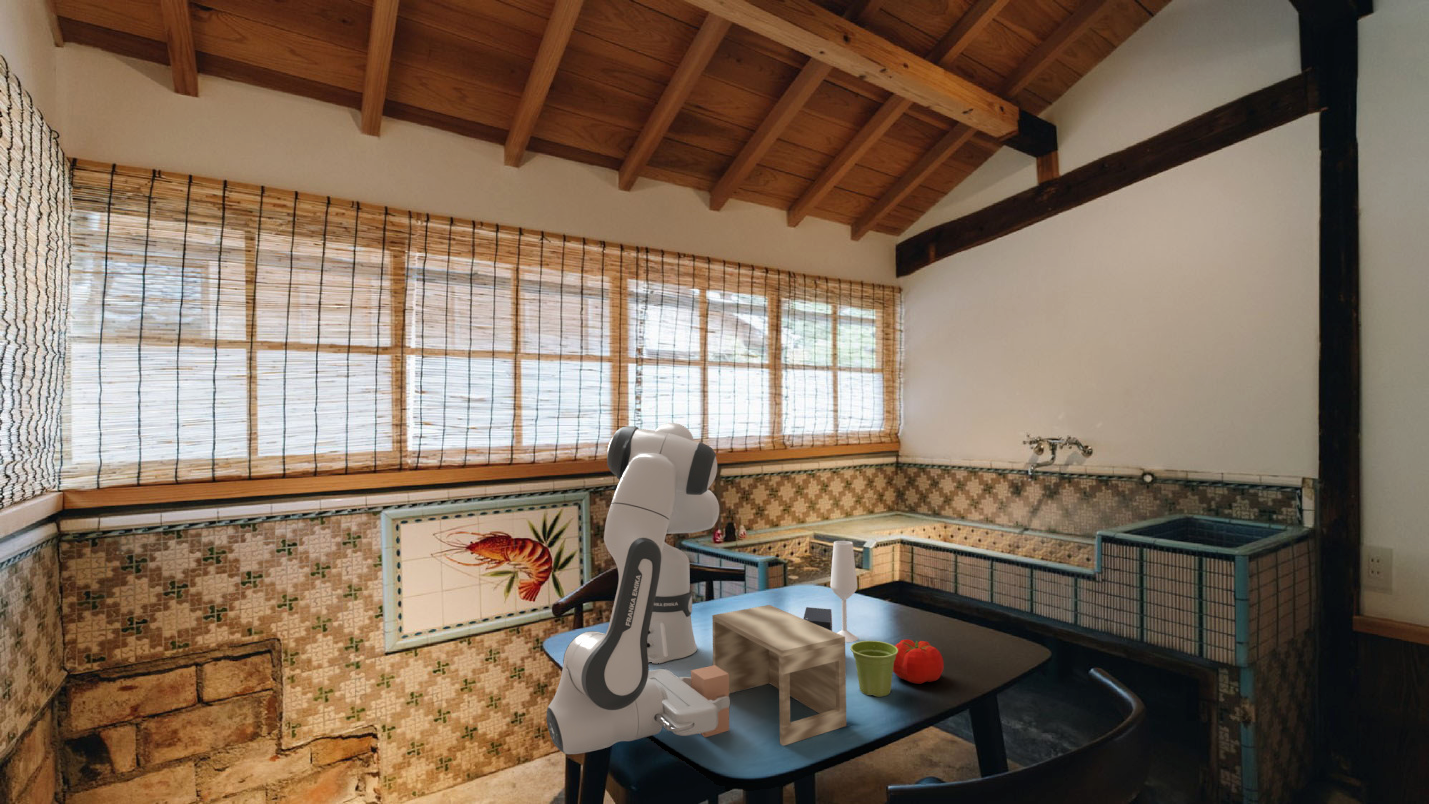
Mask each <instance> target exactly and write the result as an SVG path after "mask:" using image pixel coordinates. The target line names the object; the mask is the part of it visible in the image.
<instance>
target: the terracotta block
mask: <svg viewBox="0 0 1429 804" xmlns="http://www.w3.org/2000/svg"><path fill="white" fill-rule="evenodd" d="M690 677H691V688H693V689H694V690H695V691H697V692H698V693H699V694H701V695H702V696H703V697H705V698H706V699H707V700H713V701H714V700H716V699H717V696H718V695H722V694H724V695H726V696H728V697H729V698H730V693H729V674H728V673H726V672H725V671H723V670H722V669H720V668H719V667H717V666H715V665H713V664H712V665H710V666H704V667H700V668H696V669H691V670H690ZM727 731H730V706H729V707H728V708H724V709H721V710H720V711H719V712H718V726H717V727H716V728H715V729H714V730H712V731H708V732H704V733H699V734H700V735H702V736H703V737H704V738H707V737H711V736H714V735H717V734H722V733H724V732H725V733H726V732H727Z"/></svg>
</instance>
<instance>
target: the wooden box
mask: <svg viewBox="0 0 1429 804" xmlns="http://www.w3.org/2000/svg"><path fill="white" fill-rule="evenodd" d="M711 616H712V666H713V665H715V666H717V667H719V668H720V669H722V670H723V671H725V672H726V673H728V674H729V694H732V693H736V691H737V692H740V691H744V690H748V689H753V688H756V687H760V686H764V685H767V684H769V685H771V686H773V687H774V688H776V689H778V697H779V699H778V700H779V702H778V703H779V704H778V705H779V706H778V707H779V709H778V710H779V711H778V712H779V744H780V745H781V746H787V745H792V744H794V743H796V742H799V741H800V742H801V741H804V740H806V739H809V738H812V737H816V736H819V735H821V734H826V733H828V732H829V733H830V732H832V731H835V730H837V729H842V728H844V727H847V684H846V683H847V680H846V678H847V675H846V673H847V672H846V671H847V669H846V663H847V662H846V642H845V636H842V635H840V634H838V632H835V631H833V630H832V631H831V630H828V629H826V628H823V627H821V626H819V625H816V624H814V623H811V622H809V621H807V620H804V619H803V618H802V617H800V616H797V615H795V614H792V613H791V612H790V613H789V612H787V611H786V610H783V609H780V608H778V607H776V606H773V605H770V604H767V605H762V606H757V607H751V608H745V609H739V610H734V611H729V612H723V613H717V614H712V615H711ZM790 697H791V698H792V699H795V700H796V701H798V702H800V703H801V704H803V705H805V706H806V707H808V708H810V710H813V711H814V712H816V713H818V714H815V715H811V716H807V717H804V718H800V719H798V720H794V721H791V698H790Z"/></svg>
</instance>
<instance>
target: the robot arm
mask: <svg viewBox="0 0 1429 804" xmlns="http://www.w3.org/2000/svg"><path fill="white" fill-rule="evenodd" d="M606 464H607V465H606V466H607V467H608V470H610V472H611V473H612V474H613V475H614V476H615V477H616V479H618V480H619V482H618V484H617V486H616V489H615V491H614V494H613V497H612V500H611V503H610V506H609V510H608V512H607V516H606V521H605V526H604V533H603V534H604V535H603V541H604V545H605V547H606V549H607V551H608V553H609V554H610V556H611V557H612V558H613V560H614V562H615V565H616V567H617V573H618V584H617V589H616V594H615V597H614V603H613V607H612V612H611V614H610V615H611V616H610V620H609V624H608V628H607V630H606V633H604V632H603V633H602V632H599V631H593V630H590V631H585V632H582V633H580V634H578V635H576V636H575V637H574V638H573V639H572V640H571V642H569V644H568V645H567V647H566V649H565V652H564V654H563V660H562V661H563V662H562V663H563V665H562V671H561V676H560V680H559V684H558V687H557V690H556V692H555V695H554V696H553V698H552V700H551V702H550V703H549V704H548V706H547V708H546V725H547V729H548V732H549V736H550V738H551V741H552V743H553V744H554V746H555V747H556V748H557V749H558V750H559V751H560V752H562V753H564V754H565V755H577V754H584V753H590V752H594V751H598V750H599V751H600V750H603V749H605V748H606V749H607V748H609V747H611V746H613V745H614V744H616V743H619V742H631V741H636V740H639V739H644V738H647V737H651V736H654V735H657V734H659V733H660V732H661V731H662V730H663V728H664V730H666V731H668V732H672V733H673V734H675V735H677V736H681V737H683V736H693V735H698V734H700V733H704V732H708V731H712V730H714V729H715V728H716V727H717V726H718V712H719V711H720V710H721V709H724V708H728V707H729V708H730V705H731V701H730V700H731V699H730V696H729V697H728V696H726V695H724V694H722V695H718V696H717V699H716V700H714V701H713V700H707V699H706V698H705V697H703V696H702V695H701V694H699V693H698V692H697V691H695V690H694V689H693V688H691V676H679V677H678V676H677V675H675V674H674V673H673V672H672V671H670V670H668V669H663V668H662V669H661V668H658V669H652V670H649V667H650V666H649V662H652V663H651V664H658V663H659V664H663V663H665V662H668V661H672V660H678V659H682V658H686V657H689V656H691V655H693V654H695V653H696V651H697V650H698V647H697V643H696V639H695V636H694V631H693V630H694V629H693V624H692V615H691V614H692V613H693V595H692V590H691V588H690V587H691V583H690V582H691V581H690V572H691V571H690V559H689V557H688V556H687V555H686V553H685V552H683V551H682V550H680V549H679V548H676V547H674V546H673V545H669V544H668V543H667V542H665V540H666V536H667V534H669V535H670V534H694V533H698V532H703V531H707V530H711V529H712V528H713V527H714V526H715V525H716V523H717V522H718V520H719V515H720V505H719V504H720V503H719V501H718V499H717V496H716V495H715V494H714V493H713V492H712V491H711V490H710V489H709V488H710V487H711V486H712V484H713V483H714V481H715V479H716V476H717V474H718V460H717V453H716V452H715V451H714V449H713V448H712V447H711V446H709V445H708V444H706V443H703V442H702V441H699V442H696V441H695V439H694V437H693V435H692V432H691V431H690V430H689V429H688V428H687V427H686V426H684V425H682V424H679V423H676V422H667V423H664V424H661V425H660V426H658V427H657V428H656V429H655V430H651V429H645V428H644V429H642V428H639V427H638V426H622V427H621V428H619V429H617V430H616V431H615V432H614V434H613V436H612V438H611V439H610V441H609V443H608V446H607V450H606Z"/></svg>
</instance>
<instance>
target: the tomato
mask: <svg viewBox="0 0 1429 804" xmlns="http://www.w3.org/2000/svg"><path fill="white" fill-rule="evenodd" d="M894 646H895V647H896V648H897V649H898V653H897V655H896V658H895V661H894V666H893V673H894V675H896V676H897V677H899V678H900V679H901V680H904V681H907V682H909V683H912V684H916V685H917V684H919V685H921V684H923V683H925V682H928V683H932V682H935V681H937V680H939V679H940V677H941V675H942V673H943V671H944V667H945V664H944V658H943V656H942V654H941V652H940V651H939V650H938V648H936V647H934V646H933V645H931V644H930V643H929V641H923V640H920V641H918V640H917V639H916V641H915V642H914V641H913V640H912V639H909V638H907V639H901V640H900V641H899V642H898V643H896V644H894Z"/></svg>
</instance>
